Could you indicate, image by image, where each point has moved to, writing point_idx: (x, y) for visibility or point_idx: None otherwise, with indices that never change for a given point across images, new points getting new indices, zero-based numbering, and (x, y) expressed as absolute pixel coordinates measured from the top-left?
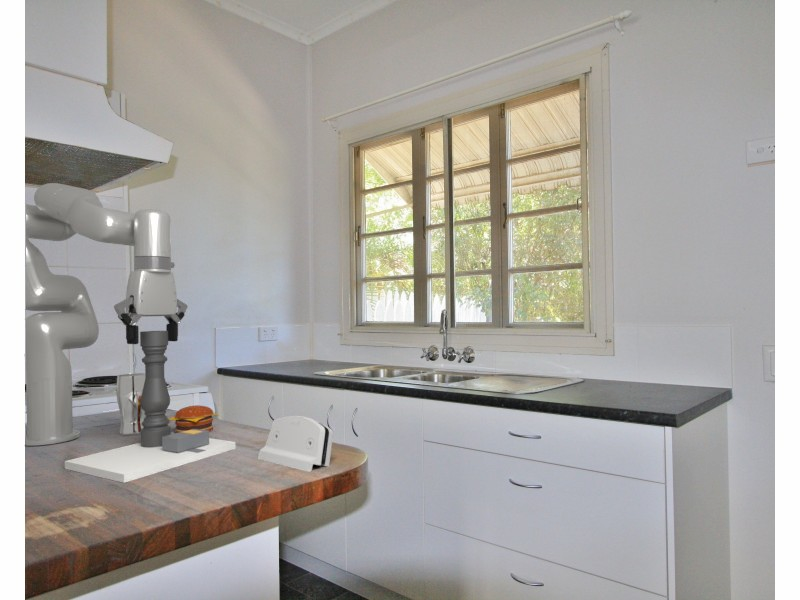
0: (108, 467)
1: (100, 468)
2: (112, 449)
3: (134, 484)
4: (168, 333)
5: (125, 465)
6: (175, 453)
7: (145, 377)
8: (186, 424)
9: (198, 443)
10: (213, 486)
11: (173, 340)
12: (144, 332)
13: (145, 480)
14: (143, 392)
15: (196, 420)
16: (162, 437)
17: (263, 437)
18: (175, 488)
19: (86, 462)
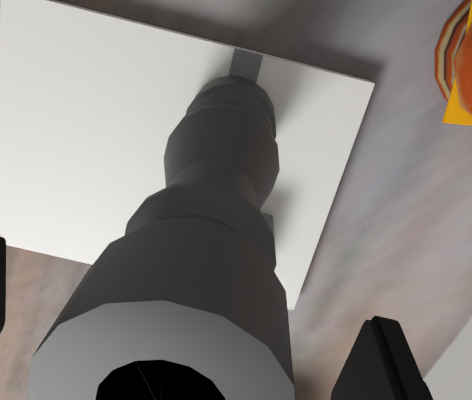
0: (16, 169)
1: (1, 157)
2: (145, 26)
3: (10, 259)
4: (373, 389)
5: (43, 196)
6: None
7: (178, 174)
8: (447, 74)
9: None
10: None
11: (333, 389)
12: (31, 398)
13: (36, 262)
14: (167, 158)
15: (448, 121)
16: None
17: (412, 306)
18: (28, 337)
19: (19, 73)
